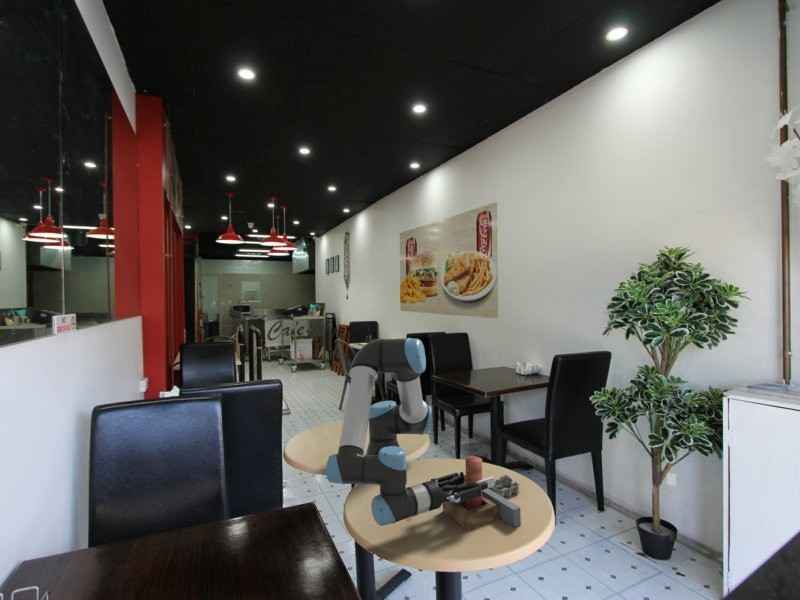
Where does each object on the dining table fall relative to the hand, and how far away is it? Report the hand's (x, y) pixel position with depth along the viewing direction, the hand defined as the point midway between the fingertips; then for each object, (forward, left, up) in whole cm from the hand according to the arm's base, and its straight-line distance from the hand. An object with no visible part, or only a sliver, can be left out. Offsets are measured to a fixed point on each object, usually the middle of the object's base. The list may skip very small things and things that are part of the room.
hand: (487, 477), depth 125 cm
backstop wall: (-1, +1, -9) cm, 10 cm away
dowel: (0, -6, -9) cm, 11 cm away
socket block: (0, -7, -9) cm, 12 cm away
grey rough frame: (-5, +11, -10) cm, 16 cm away
